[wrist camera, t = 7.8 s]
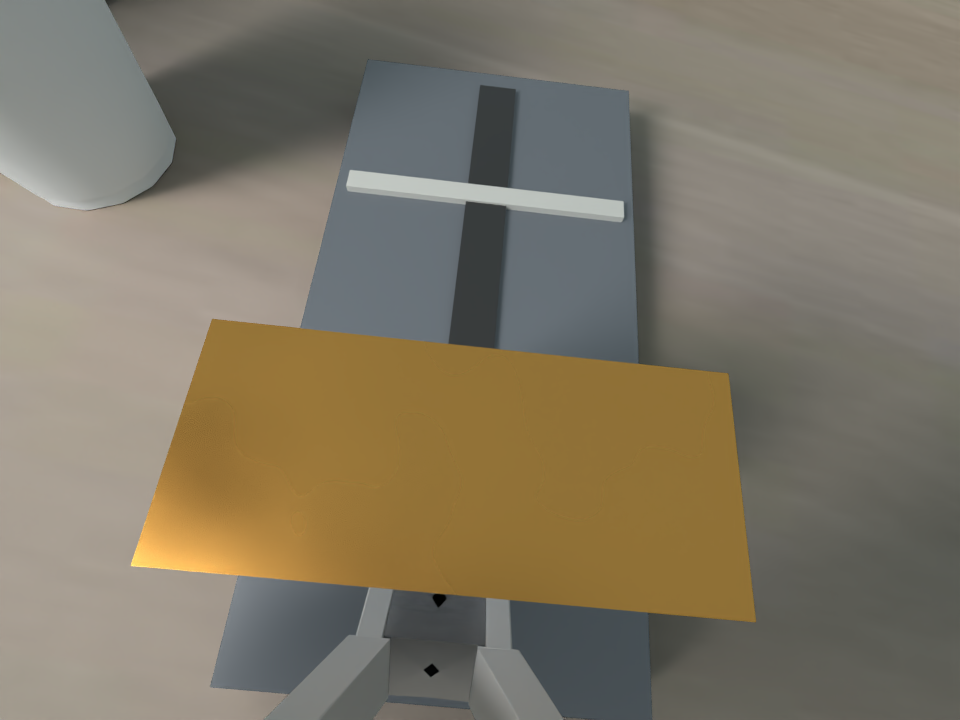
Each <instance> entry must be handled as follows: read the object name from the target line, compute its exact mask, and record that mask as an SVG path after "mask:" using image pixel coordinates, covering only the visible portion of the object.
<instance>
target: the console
mask: <svg viewBox="0 0 960 720" xmlns="http://www.w3.org/2000/svg"><path fill="white" fill-rule="evenodd" d="M300 328H303V329H312V330H322V331H331V332H341V333H350V334H360V335H369V336H379V337H388V338H398V339H407V340H417V341H426V342H436V343H445V344H455V345H464V346H473V347H483V348H492V349H502V350H511V351H521V352H530V353H540V354H549V355H559V356H568V357H578V358H587V359H597V360H606V361H615V362H625V363H634V364H639V355H638V328H637V301H636V275H635V248H634V222H633V195H632V168H631V142H630V115H629V91H624V90H616V89H608V88H600V87H591V86H583V85H575V84H567V83H559V82H550V81H542V80H534V79H526V78H518V77H509V76H501V75H493V74H485V73H477V72H468V71H460V70H452V69H444V68H436V67H427V66H419V65H411V64H403V63H395V62H386V61H378V60H370V59H368V61H367V65H366V69H365V73H364V77H363V81H362V85H361V88H360V92H359V96H358V100H357V104H356V108H355V112H354V116H353V120H352V124H351V128H350V132H349V136H348V140H347V144H346V148H345V152H344V156H343V160H342V164H341V168H340V172H339V176H338V180H337V184H336V188H335V192H334V196H333V200H332V204H331V208H330V212H329V216H328V220H327V224H326V228H325V232H324V236H323V240H322V244H321V248H320V252H319V256H318V260H317V264H316V268H315V271H314V275H313V279H312V283H311V287H310V291H309V295H308V299H307V303H306V307H305V311H304V315H303V319H302V323H301V327H300ZM368 589H369V587H361V586H350V585H339V584H328V583H317V582H306V581H295V580H284V579H273V578H262V577H251V576H240V575H238V578H237V582H236V586H235V590H234V594H233V598H232V602H231V606H230V610H229V614H228V618H227V622H226V626H225V630H224V633H223V637H222V641H221V645H220V649H219V653H218V657H217V661H216V665H215V669H214V673H213V677H212V681H211V685H210V687H213V688H225V689H236V690H248V691H260V692H272V693H284V694H290V693H291V692H292V691H293V690H294V689H295V688H296V687H297V686H298V685H299V684H300V683H301V682H302V681H303V680H304V679H305V678H306V677H307V676H308V675H309V674H310V673H311V672H312V671H313V670H314V669H315V668H316V667H317V666H318V665H319V664H320V663H321V662H322V661H323V660H324V659H325V658H326V657H327V656H328V655H329V654H330V653H331V652H332V651H333V650H334V649H335V648H336V647H337V646H338V645H339V644H340V643H341V642H342V641H343V640H344V639H345V638H346V637H347V636H348V635H356V632H357V629H358V625H359V622H360V618H361V614H362V611H363V607H364V604H365V600H366V596H367V593H368ZM510 612H511V633H512V649H515V650H519V651H520V652H521V654H522V655H523V657H524V658H525V660H526V662H527V663H528V665H529V666H530V668H531V669H532V671H533V672H534V674H535V676H536V677H537V679H538V680H539V682H540V683H541V685H542V686H543V688H544V690H545V691H546V693H547V694H548V696H549V697H550V699H551V700H552V702H553V703H554V705H555V707H556V708H557V710H558V711H559V713H560V714H561V716H562V717H570V718H581V719H593V720H652V700H651V674H650V647H649V620H648V613H647V612H636V611H625V610H614V609H603V608H592V607H581V606H570V605H559V604H548V603H537V602H526V601H515V600H510ZM386 702H391V703H403V704H415V705H427V706H439V707H451V708H462V709H470V707H469V705H468V704H469V702H464V701H455V700H446V699H438V698H429V697H412V696H394V695H388V699H387V700H386Z"/></svg>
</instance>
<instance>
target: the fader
mask: <svg viewBox="0 0 960 720" xmlns="http://www.w3.org/2000/svg"><path fill="white" fill-rule="evenodd" d="M131 566H141V567H152V568H163V569H174V570H185V571H196V572H207V573H218V574H229V575H240V576H251V577H262V578H273V579H284V580H295V581H306V582H317V583H328V584H339V585H350V586H361V587H372V588H383V589H394V590H405V591H416V592H427V593H438V594H449V595H460V596H471V597H482V598H493V599H504V600H515V601H526V602H537V603H548V604H559V605H570V606H581V607H592V608H603V609H614V610H625V611H636V612H647V613H659V614H670V615H681V616H692V617H703V618H714V619H725V620H736V621H747V622H756V617H755V608H754V599H753V590H752V581H751V572H750V563H749V554H748V545H747V536H746V527H745V518H744V509H743V500H742V491H741V482H740V473H739V464H738V455H737V446H736V437H735V428H734V419H733V410H732V401H731V392H730V383H729V374H728V373H720V372H710V371H701V370H691V369H682V368H672V367H663V366H653V365H644V364H634V363H625V362H615V361H606V360H597V359H587V358H578V357H568V356H559V355H549V354H540V353H530V352H521V351H511V350H502V349H492V348H483V347H473V346H464V345H455V344H445V343H436V342H426V341H417V340H407V339H398V338H388V337H379V336H369V335H360V334H350V333H341V332H331V331H322V330H312V329H303V328H294V327H284V326H275V325H265V324H256V323H246V322H237V321H227V320H218V319H212V321H211V324H210V327H209V330H208V333H207V336H206V339H205V342H204V345H203V348H202V351H201V354H200V357H199V360H198V363H197V366H196V370H195V373H194V376H193V379H192V382H191V385H190V388H189V391H188V394H187V397H186V400H185V403H184V406H183V409H182V412H181V415H180V418H179V421H178V424H177V427H176V430H175V433H174V436H173V439H172V442H171V445H170V448H169V451H168V454H167V458H166V461H165V464H164V467H163V470H162V473H161V476H160V479H159V482H158V485H157V488H156V491H155V494H154V497H153V500H152V503H151V506H150V509H149V512H148V515H147V518H146V521H145V524H144V527H143V530H142V533H141V536H140V539H139V543H138V546H137V549H136V552H135V555H134V558H133V561H132V564H131Z"/></svg>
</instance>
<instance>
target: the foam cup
mask: <svg viewBox="0 0 960 720" xmlns="http://www.w3.org/2000/svg"><path fill="white" fill-rule="evenodd" d="M175 142H176V137H175V135H174V133H173V131H172V129H171V127H170V125H169V123H168V121H167V119H166V117H165V115H164V113H163V111H162V109H161V107H160V105H159V103H158V101H157V99H156V97H155V95H154V93H153V91H152V89H151V88H150V86H149V84H148V82H147V80H146V78H145V76H144V74H143V72H142V70H141V68H140V66H139V65H138V63H137V61H136V59H135V57H134V55H133V53H132V51H131V49H130V47H129V45H128V43H127V42H126V40H125V38H124V36H123V34H122V32H121V30H120V28H119V26H118V24H117V22H116V20H115V19H114V17H113V15H112V13H111V11H110V9H109V7H108V5H107V3H106V1H105V0H0V173H2V174H3V175H5V176H6V177H8V178H10V179H11V180H13V181H14V182H16V183H18V184H19V185H21V186H22V187H24V188H26V189H27V190H29V191H30V192H32V193H34V194H35V195H37V196H38V197H42V198H43V199H45V200H46V201H48V202H49V203H51V204H52V205H54V206H59V207H66V208H73V209H80V210H92V209H97V208H102V207H107V206H112V205H117V204H122V203H124V202H126V201H128V200H129V199H131V198H133V197H135V196H136V195H138V194H140V193H142V192H143V191H145V190H147V189H149V188H150V187H152V186H153V185H154V184H155V183H156V182H157V181H158V179H159V178H160V177H161V176H162V174H163V173H164V172H165V171H166V169H167V168H168V167H169V166H170V164H171V163H172V159H173V153H174V148H175Z"/></svg>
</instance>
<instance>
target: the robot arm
mask: <svg viewBox="0 0 960 720" xmlns="http://www.w3.org/2000/svg"><path fill="white" fill-rule="evenodd" d="M388 695H394V696H412V697H429V698H438V699H446V700H455V701H464V702H469V704H468V705H469V707H470V709H471V712H472V714H473V716H474V719H475V720H564V719H563V717H562V716H561V714H560V713H559V711H558V710H557V708H556V707H555V705H554V703H553V702H552V700H551V699H550V697H549V696H548V694H547V693H546V691H545V690H544V688H543V686H542V685H541V683H540V682H539V680H538V679H537V677H536V676H535V674H534V672H533V671H532V669H531V668H530V666H529V665H528V663H527V662H526V660H525V658H524V657H523V655H522V654H521V652H520V651H519V650H515V649H512V633H511V612H510V600H504V599H493V598H482V597H471V596H460V595H449V594H438V593H427V592H416V591H405V590H394V589H383V588H372V587H369V589H368V593H367V596H366V600H365V604H364V607H363V611H362V614H361V618H360V622H359V625H358V629H357V632H356V635H348V636H347V637H346V638H345V639H344V640H343V641H342V642H341V643H340V644H339V645H338V646H337V647H336V648H335V649H334V650H333V651H332V652H331V653H330V654H329V655H328V656H327V657H326V658H325V659H324V660H323V661H322V662H321V663H320V664H319V665H318V666H317V667H316V668H315V669H314V670H313V671H312V672H311V673H310V674H309V675H308V676H307V677H306V678H305V679H304V680H303V681H302V682H301V683H300V684H299V685H298V686H297V687H296V688H295V689H294V690H293V691H292V692H291V693H290V694H289V695H288V696H287V697H286V698H285V699H284V700H283V701H282V702H281V703H280V704H279V705H278V706H277V707H276V708H275V709H274V710H273V711H272V712H271V713H270V714H269V715H268V716H267V717H266V718H265V719H264V720H373V718H374V717H375V716H376V714H377V713H378V711H379V710H380V709H381V707H382V706H383V704H384V703H385V702H386V700H387V699H388Z"/></svg>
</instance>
